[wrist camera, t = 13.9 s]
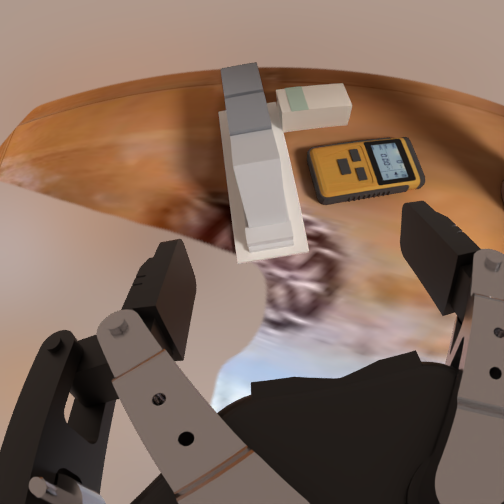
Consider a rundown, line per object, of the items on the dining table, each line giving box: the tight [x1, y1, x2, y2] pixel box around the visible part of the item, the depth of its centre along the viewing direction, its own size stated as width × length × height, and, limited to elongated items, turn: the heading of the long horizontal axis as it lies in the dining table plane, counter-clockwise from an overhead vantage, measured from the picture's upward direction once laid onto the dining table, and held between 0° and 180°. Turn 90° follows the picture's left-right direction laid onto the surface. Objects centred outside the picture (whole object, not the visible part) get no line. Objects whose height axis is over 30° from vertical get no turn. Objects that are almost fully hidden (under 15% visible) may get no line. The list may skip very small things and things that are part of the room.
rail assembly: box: [218, 63, 309, 264], centre depth 36 cm, size 9×24×12 cm, turn 8°
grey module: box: [230, 129, 287, 228], centre depth 34 cm, size 5×5×10 cm
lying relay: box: [276, 83, 352, 132], centre depth 41 cm, size 10×4×5 cm, turn 98°
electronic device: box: [307, 137, 425, 205], centre depth 39 cm, size 8×16×3 cm, turn 100°
